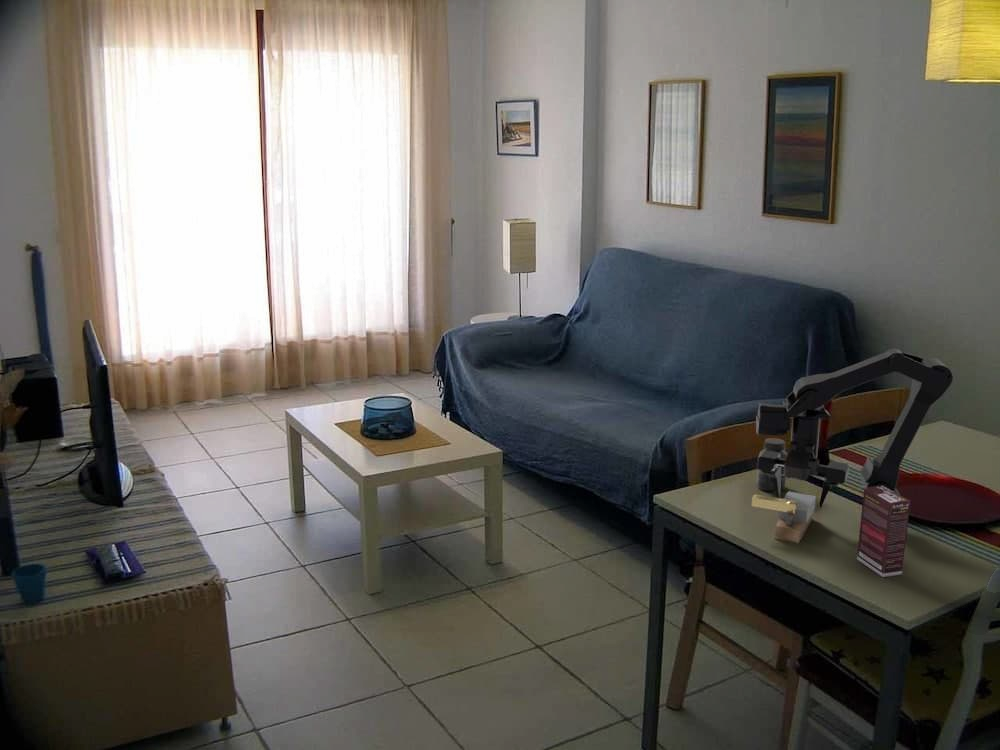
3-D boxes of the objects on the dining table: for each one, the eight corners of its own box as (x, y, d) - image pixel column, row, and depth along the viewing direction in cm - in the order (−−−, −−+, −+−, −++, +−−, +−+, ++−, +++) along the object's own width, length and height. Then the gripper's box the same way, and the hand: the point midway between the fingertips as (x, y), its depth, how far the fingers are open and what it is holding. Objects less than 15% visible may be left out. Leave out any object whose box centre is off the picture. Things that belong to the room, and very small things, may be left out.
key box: (812, 519, 216) (814, 493, 214) (798, 543, 204) (801, 516, 202) (789, 514, 218) (791, 489, 216) (774, 538, 206) (776, 511, 205)
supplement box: (903, 574, 190) (912, 500, 186) (882, 578, 189) (891, 503, 185) (875, 555, 198) (883, 484, 194) (855, 558, 197) (862, 487, 193)
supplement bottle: (786, 494, 229) (790, 446, 226) (757, 492, 231) (760, 445, 227) (784, 483, 236) (788, 437, 233) (755, 481, 237) (759, 435, 234)
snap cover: (814, 508, 214) (815, 496, 213) (806, 524, 206) (807, 511, 205) (787, 503, 217) (788, 491, 216) (777, 518, 209) (778, 505, 208)
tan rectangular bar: (753, 502, 209) (754, 493, 208) (797, 509, 205) (798, 501, 205) (751, 506, 207) (752, 497, 206) (795, 514, 203) (796, 505, 203)
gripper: (752, 440, 205) (747, 507, 210) (843, 454, 197) (836, 524, 201) (765, 425, 215) (760, 490, 219) (852, 438, 206) (845, 505, 210)
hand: (799, 502), depth 212 cm, fingers open, 9 cm apart
